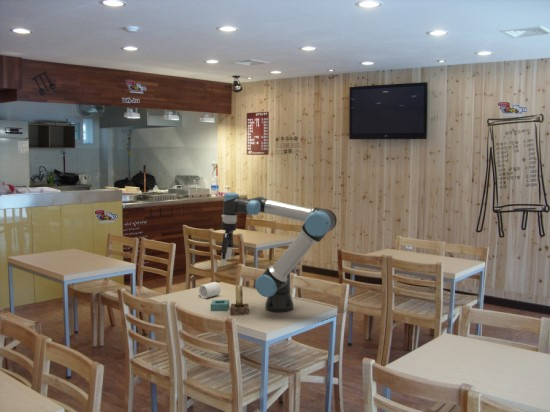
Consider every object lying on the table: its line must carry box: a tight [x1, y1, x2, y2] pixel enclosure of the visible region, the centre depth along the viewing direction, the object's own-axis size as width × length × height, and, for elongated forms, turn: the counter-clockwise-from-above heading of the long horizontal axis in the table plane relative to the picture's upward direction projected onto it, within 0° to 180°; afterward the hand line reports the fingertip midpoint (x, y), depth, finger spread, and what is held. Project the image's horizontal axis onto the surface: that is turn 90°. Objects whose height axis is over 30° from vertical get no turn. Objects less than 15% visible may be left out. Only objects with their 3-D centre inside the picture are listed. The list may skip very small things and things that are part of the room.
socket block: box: [210, 299, 230, 312], centre depth 310 cm, size 9×9×4 cm
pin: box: [235, 285, 244, 307], centre depth 302 cm, size 4×4×14 cm
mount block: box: [229, 302, 249, 316], centre depth 302 cm, size 9×9×4 cm
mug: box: [198, 281, 222, 299], centre depth 337 cm, size 12×10×8 cm
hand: (226, 262), depth 303 cm, fingers open, 13 cm apart
